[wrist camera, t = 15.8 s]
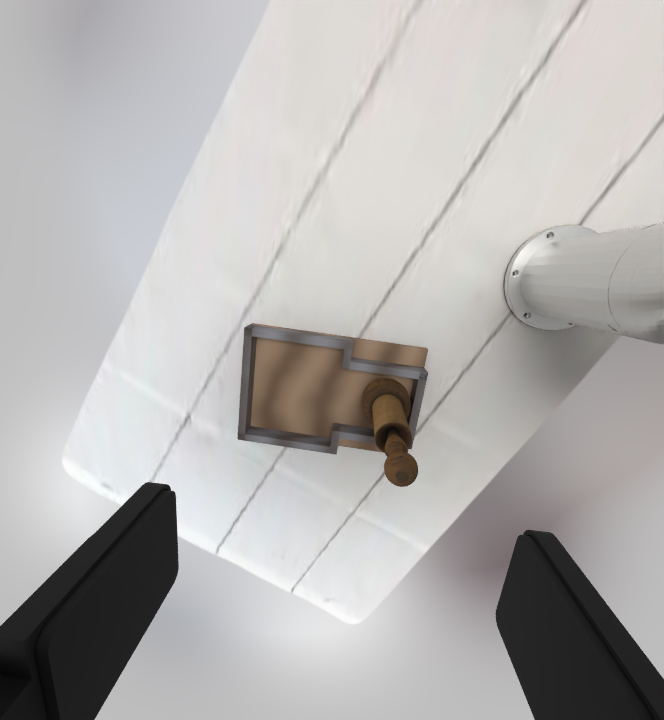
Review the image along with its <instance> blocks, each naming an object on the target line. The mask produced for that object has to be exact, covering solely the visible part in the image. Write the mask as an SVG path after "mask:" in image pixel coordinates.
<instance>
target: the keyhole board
mask: <svg viewBox="0 0 664 720" xmlns="http://www.w3.org/2000/svg"><path fill="white" fill-rule="evenodd" d="M427 352H428V349H427V348H422V347H415V346H408V345H401V344H394V343H387V342H380V341H373V340H366V339H359V338H352V337H345V336H338V335H331V334H324V333H317V332H310V331H303V330H296V329H289V328H282V327H275V326H268V325H261V324H254V323H252V324H250V325H248V326H246V327H245V328H244V345H243V361H242V377H241V393H240V409H239V425H238V439H239V440H245V441H252V442H258V443H265V444H271V445H278V446H284V447H291V448H298V449H304V450H311V451H317V452H324V453H330V454H336V453H337V447H338V446H345V447H352V448H358V449H365V450H371V451H378V452H382V451H381V450H379V448H378V447H377V446H376V443H375V435H374V425H373V424H372V423H370V422H369V421H368V420H367V418H366V417H365V415H364V413H363V409H362V394H363V391H364V389H365V388H366V386H367V385H368V384H369V383H371V382H372V381H374V380H376V379H380V378H390V379H394V380H396V381H398V382H399V383H401V384H402V385H403V386H404V387H405V389H406V390H407V392H408V395H409V397H410V401H411V411H410V414H409V416H408V417H407V419H406V420H407V423H408V426H409V428H410V431H411V434H412V443H411V446H410V447H409V448H408V449H412V444H413V439H414V435H415V430H416V426H417V421H418V417H419V412H420V408H421V403H422V399H423V394H424V389H425V385H426V380H427V376H428V372H427V371H426V370H425V368H424V366H425V361H426V356H427Z"/></svg>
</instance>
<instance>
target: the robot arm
mask: <svg viewBox="0 0 664 720" xmlns="http://www.w3.org/2000/svg"><path fill="white" fill-rule="evenodd" d="M547 235H548V238H547V237H546V236H547ZM513 272H514V275H513V276H512V273H513ZM504 287H505V296H506V300H507V303H508V305H509V307H510V309H511V311H512V312H513V313H514V314H515V315H516V317H517V318H518V319H520V320H521V321H522V322H524V323H525V324H528V325H530V326H532V327H535V328H538V329H543V330H562V329H567V328H571V327H573V326H576V325H581V326H585V327H589V328H594V329H598V330H602V331H606V332H611V333H615V334H619V335H624V336H628V337H633V338H636V339H641V340H645V341H650V342H654V343H659V344H664V223H659V224H653V225H647V226H641V227H634V228H628V229H622V230H616V231H609V232H603V233H597V232H596V231H594V230H592V229H590V228H587V227H583V226H579V225H562V226H556V227H553V228H549V229H546V230H544V231H542V232H539V233H537V234H536V235H534V236H533V237H531V238H530V239H528V240H527V241H526V242H525V243H524V244H523V245H522V246H521V247H520V248H519V249H518V251H517V252H516V253H515V255H514V256H513V258H512V260H511V262H510V264H509V266H508V269H507V272H506V275H505V284H504ZM524 313H526V314H525V316H524ZM177 542H178V541H177V516H176V495H175V492H174V491H171V489H170V486H169V485H167V484H159V483H151V482H147V483H145V484H144V485H142V486H141V487H140V488H139V489H138V490H137V491H136V492H135V493H134V494H133V495H132V496H131V497H130V498H129V499H128V500H127V501H126V502H125V503H124V504H123V506H122V507H121V508H120V509H119V510H118V511H117V512H116V513H115V514H114V515H113V516H112V517H111V518H110V519H109V520H108V521H107V522H106V523H105V524H104V525H103V526H102V527H101V528H100V529H99V530H98V531H97V532H96V533H95V534H93V535H92V536H91V537H90V538H88V539H87V540H86V541H85V542H84V543H83V544H82V545H81V546H80V547H79V548H78V549H77V551H75V552H74V553H73V554H72V555H71V556H70V557H69V558H68V559H67V560H66V561H65V562H64V563H63V564H62V565H61V566H60V567H59V568H58V569H57V570H56V571H55V572H54V573H53V574H52V575H51V576H50V577H49V578H48V579H47V580H46V581H45V582H44V583H43V584H42V585H41V586H40V587H39V588H38V589H37V590H36V591H35V592H34V593H33V594H32V595H31V596H30V597H29V598H28V599H27V600H26V601H25V602H24V603H23V604H22V605H21V606H20V607H19V608H18V609H17V610H16V611H15V612H14V613H13V614H12V615H11V616H10V617H9V618H8V619H7V620H6V621H5V622H4V623H3V624H2V625H1V626H0V720H94V719H95V718H96V716H97V714H98V712H99V711H100V709H101V707H102V706H103V704H104V702H105V700H106V699H107V697H108V695H109V694H110V692H111V690H112V688H113V687H114V685H115V683H116V682H117V680H118V678H119V676H120V674H121V673H122V671H123V670H124V668H125V666H126V664H127V662H128V661H129V659H130V658H131V656H132V654H133V652H134V651H135V649H136V647H137V646H138V644H139V642H140V640H141V639H142V637H143V635H144V633H145V632H146V630H147V628H148V627H149V625H150V623H151V622H152V620H153V618H154V616H155V614H156V613H157V611H158V609H159V608H160V606H161V604H162V603H163V601H164V599H165V597H166V596H167V594H168V592H169V591H170V589H171V587H172V585H173V584H174V582H175V580H176V577H177V573H178V543H177ZM496 622H497V626H498V629H499V631H500V634H501V637H502V639H503V642H504V644H505V646H506V649H507V651H508V654H509V657H510V659H511V662H512V664H513V667H514V669H515V672H516V674H517V676H518V679H519V681H520V684H521V686H522V689H523V691H524V694H525V696H526V699H527V701H528V704H529V706H530V709H531V711H532V714H533V716H534V719H535V720H664V679H663V678H662V676H661V675H660V674H659V672H658V671H657V670H656V668H655V667H654V666H653V664H652V663H651V662H650V660H649V659H648V658H647V656H646V655H645V654H644V653H643V651H642V650H641V649H640V647H639V646H638V645H637V643H636V642H635V641H634V639H633V638H632V637H631V635H630V634H629V633H628V631H627V630H626V629H625V627H624V626H623V625H622V623H621V622H620V621H619V620H618V618H617V617H616V616H615V614H614V613H613V612H612V610H611V609H610V608H609V606H608V605H607V604H606V602H605V601H604V600H603V598H602V597H601V596H600V595H599V593H598V592H597V591H596V589H595V588H594V587H593V585H592V584H591V583H590V581H589V580H588V579H587V578H586V576H585V575H584V573H583V572H582V571H581V569H580V568H579V567H578V566H577V564H576V563H575V562H574V560H573V559H572V558H571V556H570V555H569V554H568V552H567V551H566V550H565V548H564V547H563V546H562V544H561V543H560V542H559V541H558V539H557V538H556V537H555V536H554V535H553V534H552V533H550V532H542V531H534V530H526V531H525V532H524V534H523V535H519V536H518V538H517V541H516V544H515V548H514V551H513V555H512V558H511V561H510V565H509V568H508V572H507V575H506V579H505V582H504V585H503V589H502V592H501V596H500V599H499V602H498V606H497V609H496Z"/></svg>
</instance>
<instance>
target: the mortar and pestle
mask: <svg viewBox="0 0 664 720" xmlns="http://www.w3.org/2000/svg"><path fill="white" fill-rule="evenodd" d="M362 409H363V413H364V415H365V417H366V418H367V420H368V421H369V422H370V423H372V424H373V425H374V435H375V443H376V446H377V447H378V448H379V450H381V451H382V452H384V453H385V454H386V456H387V459H386V461H385V464H384V471H385V474H386V477H387V478H388V480H389V481H390V482H391V483H393V484H394V485H396V486H400V487H404V486H408V485H410V484H412V483H413V482H414V481H415V479H416V477H417V474H418V466H417V462H416V460H415V459H414V458H413V457H412V456H411V455H410V454H408V453H407V452H408V448H409V447H410V446H411V443H412V434H411V431H410V428H409V426H408V423H407V420H406V419H407V417H408V416H409V414H410V411H411V401H410V397H409V395H408V392H407V390H406V389H405V387H404V386H403V385H402V384H401V383H399V382H398V381H396V380H394V379H390V378H380V379H376V380H374V381H372V382H371V383H369V384H368V385H367V386H366V388H365V389H364V391H363V394H362Z"/></svg>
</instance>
